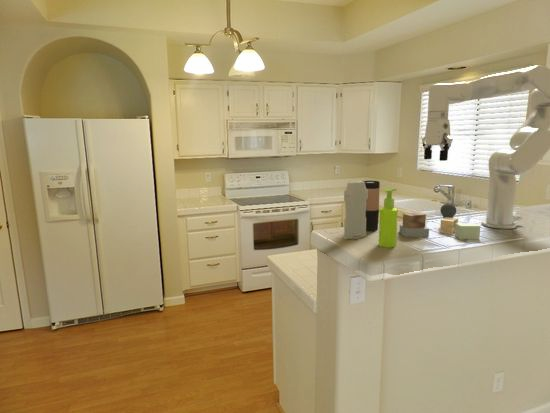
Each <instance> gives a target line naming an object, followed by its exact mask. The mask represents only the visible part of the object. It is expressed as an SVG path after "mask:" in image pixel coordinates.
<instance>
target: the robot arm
mask: <svg viewBox="0 0 550 413" xmlns="http://www.w3.org/2000/svg"><path fill="white" fill-rule="evenodd" d="M527 91H531V93H530V96H529V105H530V114H529V116H528V117H527V119H525V120H524V122H523V123H522V125H520V126H519V128H518V129H517V130H516V131H515V132H514V134H513V135H512V136H511V137H510V138H509V139H510V140H509V147H510V149H500V150H496V151H495V152H493V153H492V154H491V155H490V157H489V159H488V174H489V182H488V183H489V184H488V194H487V206H486V216H485V219H483V220H481V223H480V224H481V225H482V226H484V227H488V228H491V229H501V230H507V229H509V230H510V229H516V228H517V223H516V222H517V221H522V220H523V219H522V218H523V217H522V216H521V215H515V214H514V208H515V200H516V199H515V198H516V192H517V191H516V190H517V178H516V176H523V175H525V174H527V173H529V172H530V171H531V170H532V169H534V167H535V166H536V165H537V164H538V163H539V162H540V160H542V158H543V157H544V156H545V155H546V154H547V153H548V152H549V151H550V130H549V129H550V68H549V67H547V66H545V65H541V64H539V65H538V64H537V65H533V66H529V67H526V68H520V69H515V70H511V71H507V72H499V73H496V74H495V73H494V74H491V75H488V76H484V77H480V78H478V79H474V80H471V81H467V82H466V81H461V82H454V83H434V84H431V85H430V86H429V87H428V103H427V121H426V126H425V132H424V133H425V134H424V136H423V138H422V139H421V143H422V147H423V150H424V151H423V153H424V154H423V159H424V160H432V154H433V150H432V148H433V146H439V148H440V150H439V159H438V160H439V161H440V162H442V161H443V162H444V161H448V158H449V157H448V155H449V150H450V148H451V146H452V143H453V140H454V139H453V138H452V137H451V124H450V119H449V111H450V110H449V108H450V106H449V105H454V104H461V103H465V102H469V101H473V100H474V101H475V100H481V99H482V100H483V99H491V98H496V97H501V96H502V97H503V96H506V95H511V94H516V93H522V92H527ZM515 221H516V222H515Z"/></svg>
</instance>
